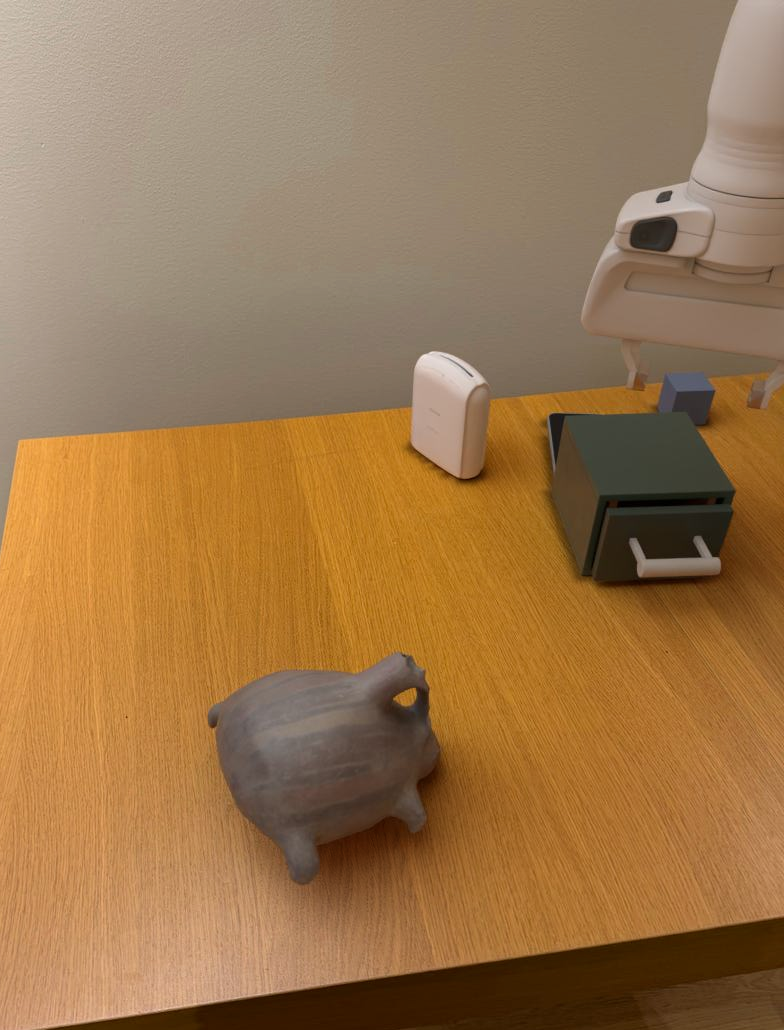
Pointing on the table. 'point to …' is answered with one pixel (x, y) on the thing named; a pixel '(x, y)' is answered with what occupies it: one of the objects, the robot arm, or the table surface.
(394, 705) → the piggy bank
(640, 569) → the drawer
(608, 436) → the cabinet
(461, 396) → the photo printer
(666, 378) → the block
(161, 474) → the table surface
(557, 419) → the smartphone
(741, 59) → the robot arm
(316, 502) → the table surface
